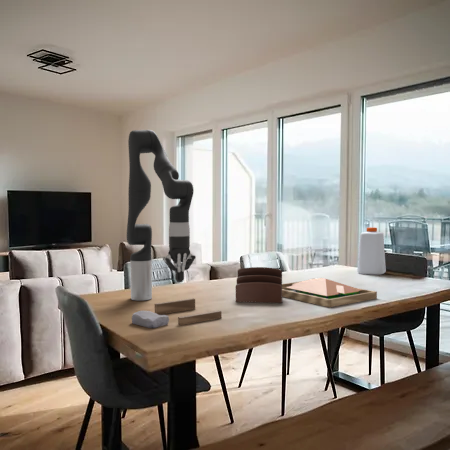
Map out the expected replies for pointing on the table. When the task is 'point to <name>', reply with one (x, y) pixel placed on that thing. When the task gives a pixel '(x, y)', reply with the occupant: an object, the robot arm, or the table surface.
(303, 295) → the wooden picture frame
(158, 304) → the pair of wooden bars
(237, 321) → the table surface
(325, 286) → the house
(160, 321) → the stone block
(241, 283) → the letter holder
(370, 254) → the plastic bottle
